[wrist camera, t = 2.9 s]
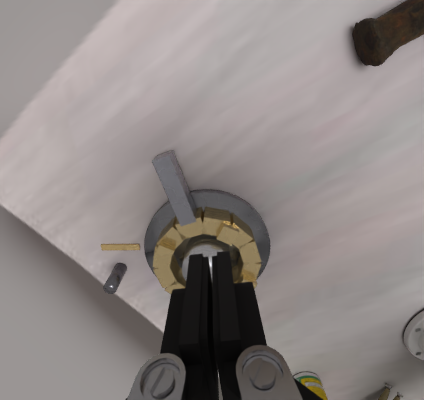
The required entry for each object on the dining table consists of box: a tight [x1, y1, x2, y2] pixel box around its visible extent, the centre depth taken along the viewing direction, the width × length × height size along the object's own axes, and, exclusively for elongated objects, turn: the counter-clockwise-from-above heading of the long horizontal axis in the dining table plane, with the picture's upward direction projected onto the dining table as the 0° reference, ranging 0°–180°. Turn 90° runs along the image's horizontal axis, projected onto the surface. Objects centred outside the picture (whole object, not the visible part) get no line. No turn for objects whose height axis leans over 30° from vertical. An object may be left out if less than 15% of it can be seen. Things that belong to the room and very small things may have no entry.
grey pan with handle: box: [152, 150, 261, 294], centre depth 28 cm, size 20×12×4 cm, turn 19°
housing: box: [101, 190, 270, 294], centre depth 31 cm, size 16×21×5 cm
